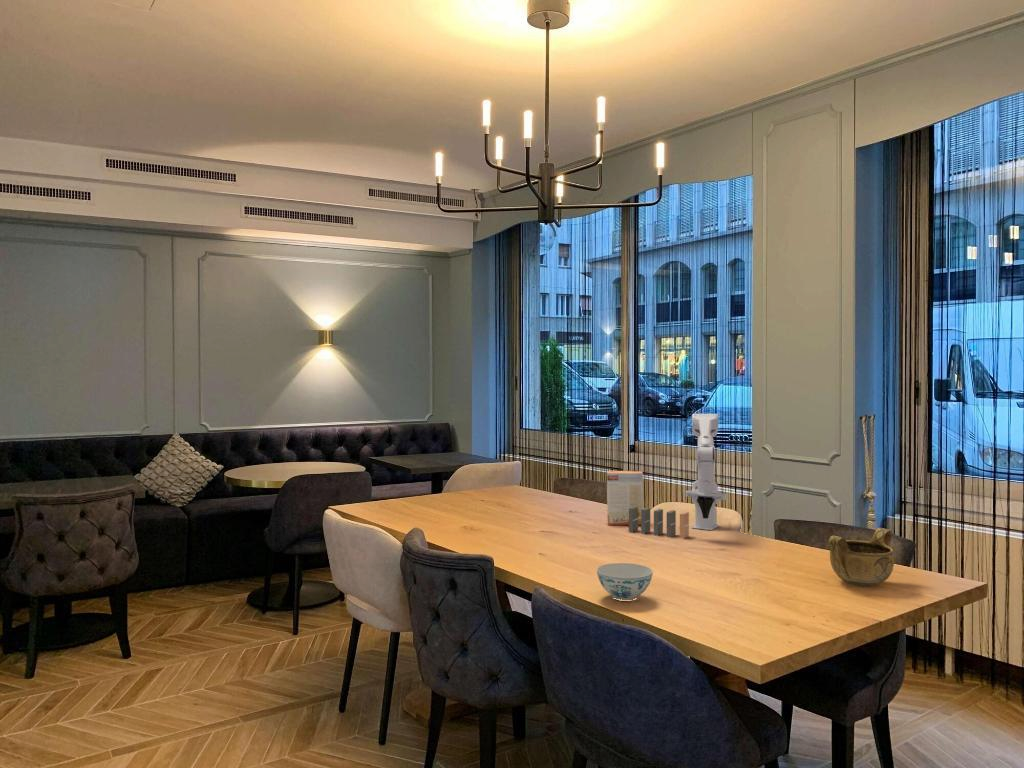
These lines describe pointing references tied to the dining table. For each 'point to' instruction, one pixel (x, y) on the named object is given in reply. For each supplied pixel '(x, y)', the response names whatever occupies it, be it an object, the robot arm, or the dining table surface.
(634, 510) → the end domino
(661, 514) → the domino
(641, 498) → the cracker box
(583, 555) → the dining table surface
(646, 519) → the domino
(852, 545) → the ceramic bowl
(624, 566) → the chinaware
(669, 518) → the domino
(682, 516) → the terracotta domino
